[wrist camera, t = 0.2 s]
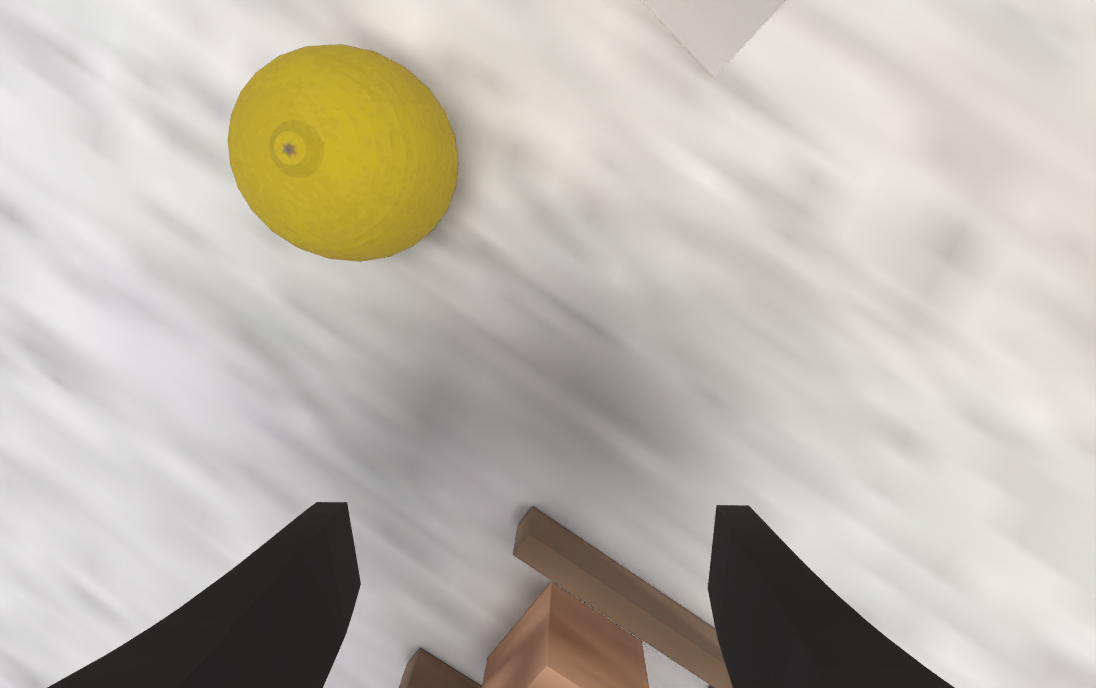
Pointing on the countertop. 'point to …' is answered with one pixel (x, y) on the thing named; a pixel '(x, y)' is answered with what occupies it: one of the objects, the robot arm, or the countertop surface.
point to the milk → (713, 26)
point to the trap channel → (597, 606)
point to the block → (566, 649)
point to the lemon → (343, 152)
